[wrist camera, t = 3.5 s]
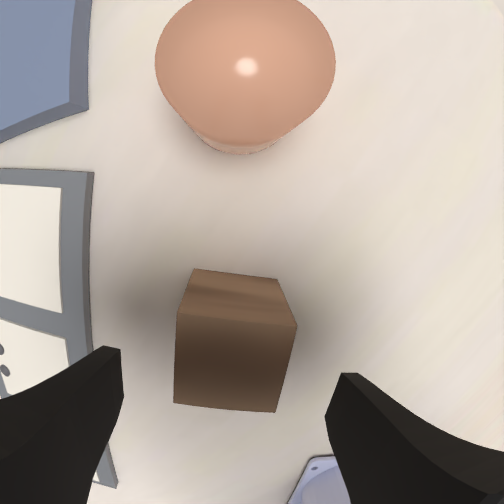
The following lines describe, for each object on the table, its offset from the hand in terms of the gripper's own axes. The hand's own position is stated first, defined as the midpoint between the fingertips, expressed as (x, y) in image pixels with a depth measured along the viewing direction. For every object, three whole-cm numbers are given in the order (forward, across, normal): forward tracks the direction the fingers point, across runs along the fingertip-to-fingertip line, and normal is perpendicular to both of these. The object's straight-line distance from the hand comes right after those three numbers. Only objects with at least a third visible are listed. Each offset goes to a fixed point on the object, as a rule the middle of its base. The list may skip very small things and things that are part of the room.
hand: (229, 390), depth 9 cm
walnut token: (+6, 0, 0) cm, 6 cm away
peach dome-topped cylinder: (+6, +1, -10) cm, 12 cm away
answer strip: (+6, +12, +6) cm, 15 cm away
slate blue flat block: (+7, +13, -13) cm, 20 cm away
